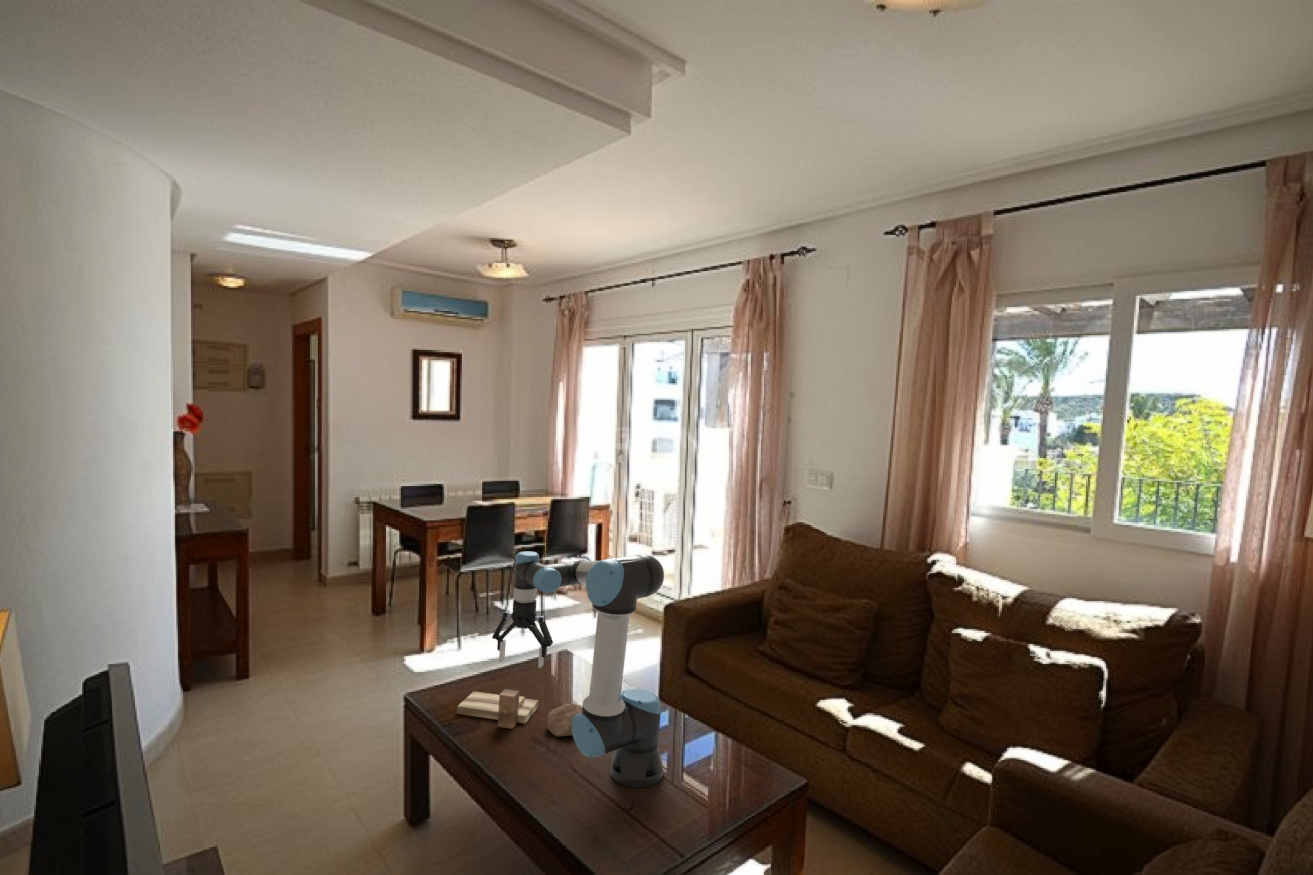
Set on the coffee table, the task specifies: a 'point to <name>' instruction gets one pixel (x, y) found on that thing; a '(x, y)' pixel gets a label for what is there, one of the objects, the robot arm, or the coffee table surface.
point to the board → (493, 707)
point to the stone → (562, 719)
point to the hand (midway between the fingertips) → (521, 663)
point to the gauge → (509, 708)
